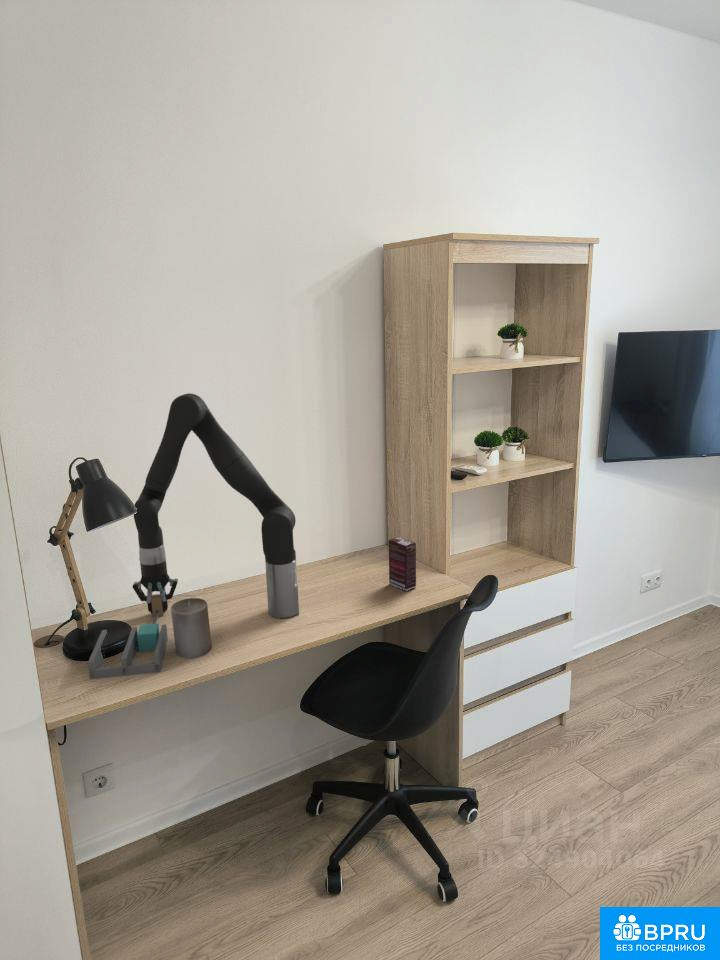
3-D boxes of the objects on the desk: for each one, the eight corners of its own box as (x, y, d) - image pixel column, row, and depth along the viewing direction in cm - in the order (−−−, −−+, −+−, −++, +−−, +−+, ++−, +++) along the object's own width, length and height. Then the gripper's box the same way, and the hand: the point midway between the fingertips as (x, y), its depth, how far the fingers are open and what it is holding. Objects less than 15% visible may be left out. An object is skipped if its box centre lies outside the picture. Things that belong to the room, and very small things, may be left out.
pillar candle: (200, 638, 198) (195, 590, 194) (218, 650, 191) (213, 600, 187) (169, 650, 192) (163, 601, 188) (186, 663, 185) (180, 612, 181)
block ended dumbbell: (167, 611, 215) (165, 593, 214) (157, 649, 192) (155, 629, 190) (151, 612, 214) (149, 594, 213) (138, 651, 191) (136, 631, 190)
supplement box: (416, 587, 229) (416, 542, 225) (406, 592, 226) (406, 546, 222) (398, 580, 236) (398, 536, 231) (388, 584, 233) (387, 539, 228)
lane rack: (168, 640, 197) (166, 624, 196) (160, 673, 180) (158, 655, 179) (104, 646, 195) (102, 629, 194) (90, 679, 178) (87, 662, 177)
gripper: (178, 553, 213) (182, 604, 218) (130, 556, 211) (136, 608, 216) (175, 561, 206) (180, 615, 211) (126, 565, 204) (132, 619, 209)
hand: (158, 611), depth 213 cm, fingers closed on block ended dumbbell, 3 cm apart
